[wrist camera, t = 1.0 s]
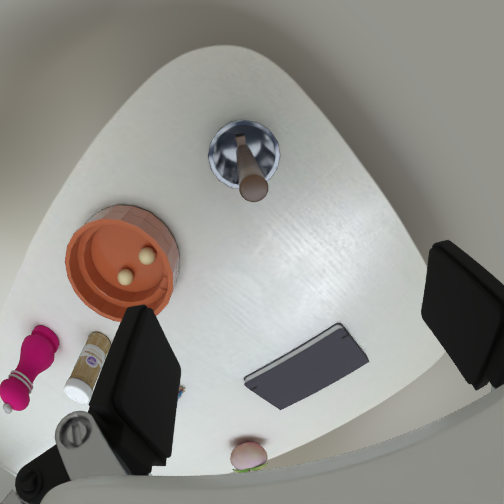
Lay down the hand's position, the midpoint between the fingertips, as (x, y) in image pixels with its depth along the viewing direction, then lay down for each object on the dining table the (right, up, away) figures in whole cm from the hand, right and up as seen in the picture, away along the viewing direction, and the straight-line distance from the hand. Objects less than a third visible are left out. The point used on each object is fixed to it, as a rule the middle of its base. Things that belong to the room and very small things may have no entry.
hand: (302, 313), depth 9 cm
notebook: (+9, -20, +45) cm, 50 cm away
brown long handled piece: (-3, +15, +26) cm, 30 cm away
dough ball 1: (-20, -1, +32) cm, 38 cm away
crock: (-3, +15, +26) cm, 30 cm away
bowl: (-19, +1, +32) cm, 37 cm away
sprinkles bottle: (-29, -14, +39) cm, 51 cm away
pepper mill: (-42, -15, +38) cm, 59 cm away
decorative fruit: (-3, -46, +57) cm, 73 cm away
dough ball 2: (-16, +2, +31) cm, 35 cm away
